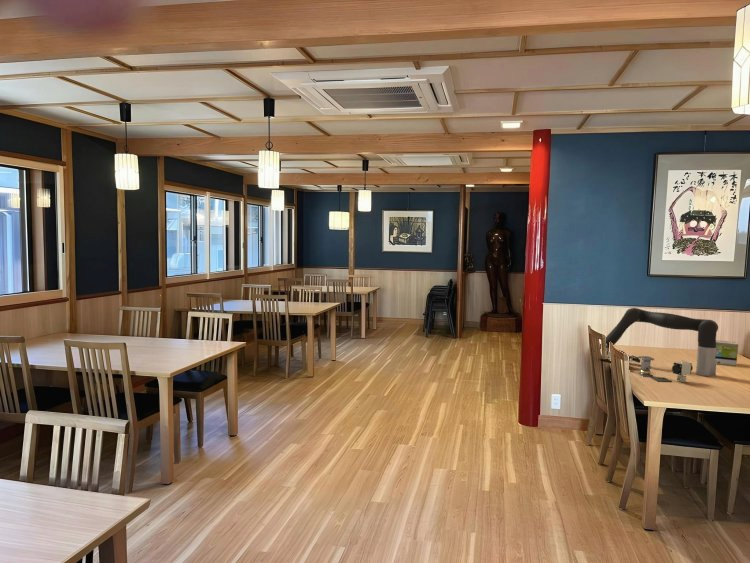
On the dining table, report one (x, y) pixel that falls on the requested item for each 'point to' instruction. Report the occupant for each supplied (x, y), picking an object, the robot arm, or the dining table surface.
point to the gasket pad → (660, 379)
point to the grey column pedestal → (645, 366)
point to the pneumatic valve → (682, 370)
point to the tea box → (726, 352)
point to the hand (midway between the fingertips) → (633, 361)
